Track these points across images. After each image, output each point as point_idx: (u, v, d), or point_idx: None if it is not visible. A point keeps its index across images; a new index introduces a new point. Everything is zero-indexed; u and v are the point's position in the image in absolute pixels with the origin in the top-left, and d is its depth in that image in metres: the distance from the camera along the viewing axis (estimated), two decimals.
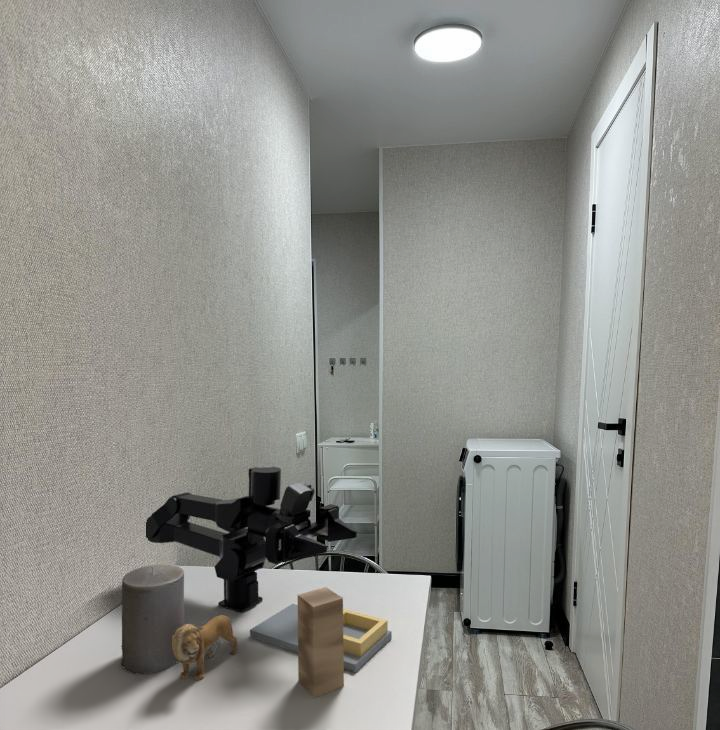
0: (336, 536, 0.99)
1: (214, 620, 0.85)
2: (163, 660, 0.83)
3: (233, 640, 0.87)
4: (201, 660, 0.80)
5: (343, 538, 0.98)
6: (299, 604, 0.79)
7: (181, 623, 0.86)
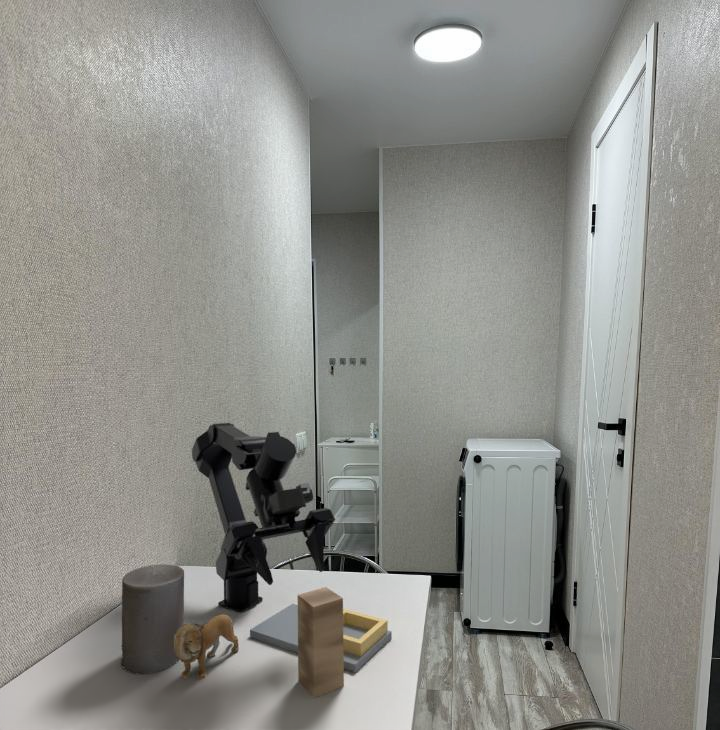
0: (311, 549, 0.91)
1: (215, 619, 0.85)
2: (163, 660, 0.83)
3: (234, 639, 0.87)
4: (203, 659, 0.80)
5: (313, 559, 0.90)
6: (299, 604, 0.79)
7: (181, 623, 0.86)
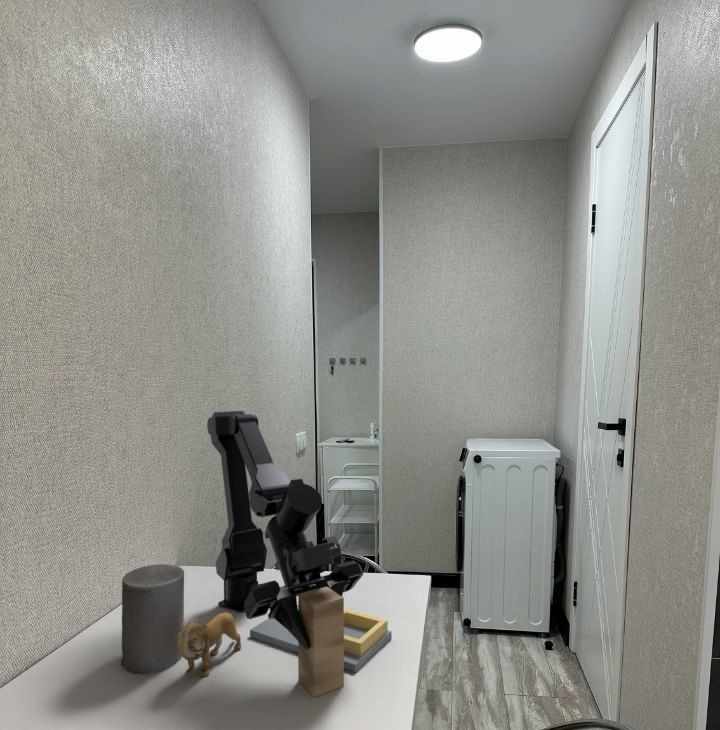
0: None
1: (218, 617, 0.86)
2: (163, 660, 0.83)
3: (236, 637, 0.88)
4: (207, 657, 0.81)
5: None
6: (300, 603, 0.79)
7: (181, 623, 0.86)
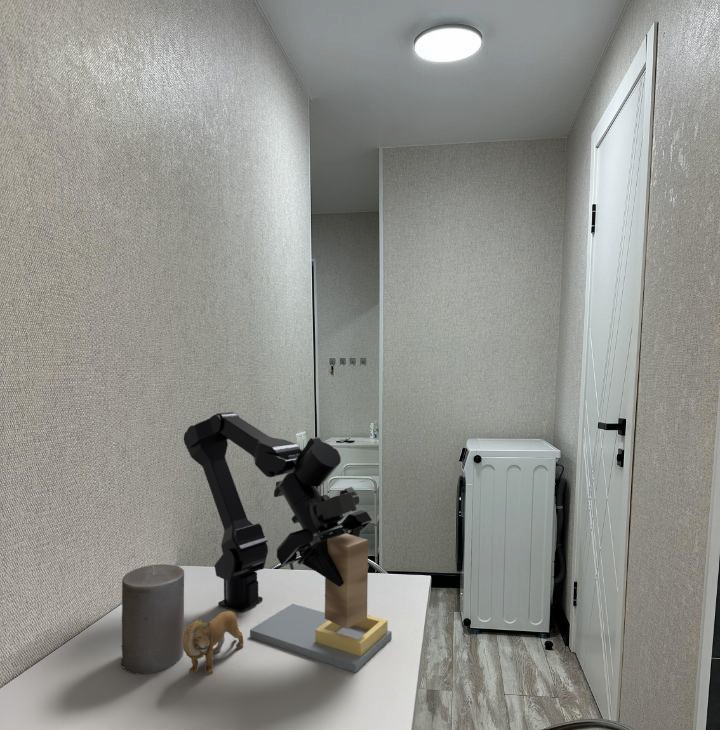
0: None
1: (221, 616, 0.86)
2: (163, 660, 0.83)
3: (239, 635, 0.88)
4: (210, 655, 0.82)
5: None
6: (328, 548, 0.87)
7: (181, 623, 0.86)
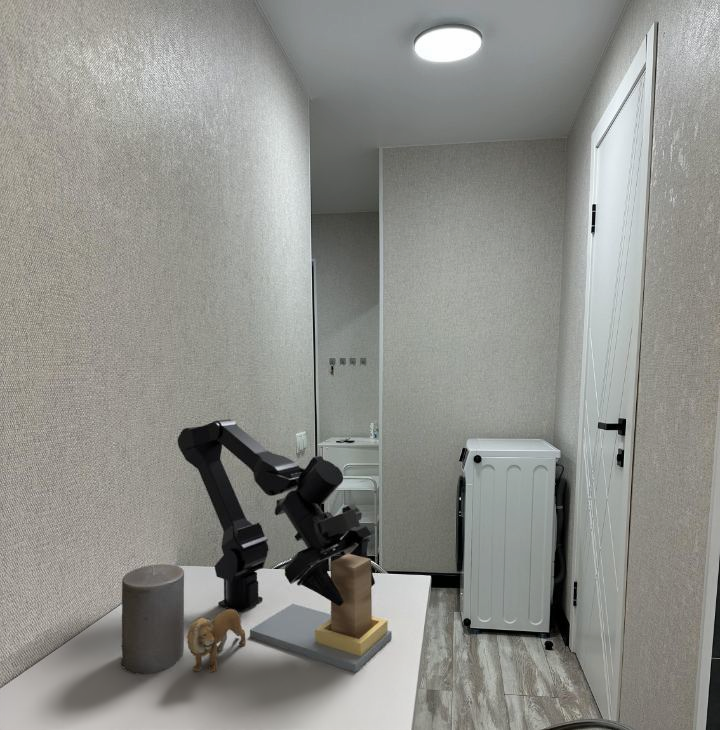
0: None
1: (224, 614, 0.87)
2: (163, 660, 0.83)
3: (241, 633, 0.89)
4: (214, 652, 0.82)
5: None
6: (333, 570, 0.89)
7: (181, 623, 0.86)
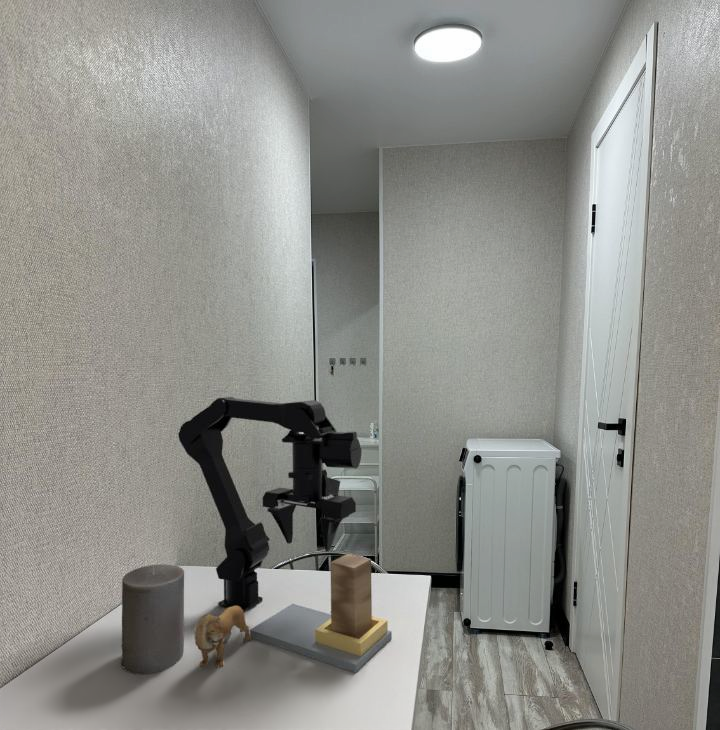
0: (283, 521, 1.02)
1: (229, 610, 0.88)
2: (163, 660, 0.83)
3: (246, 629, 0.90)
4: (221, 648, 0.83)
5: (285, 530, 1.02)
6: (333, 570, 0.89)
7: (181, 623, 0.86)
